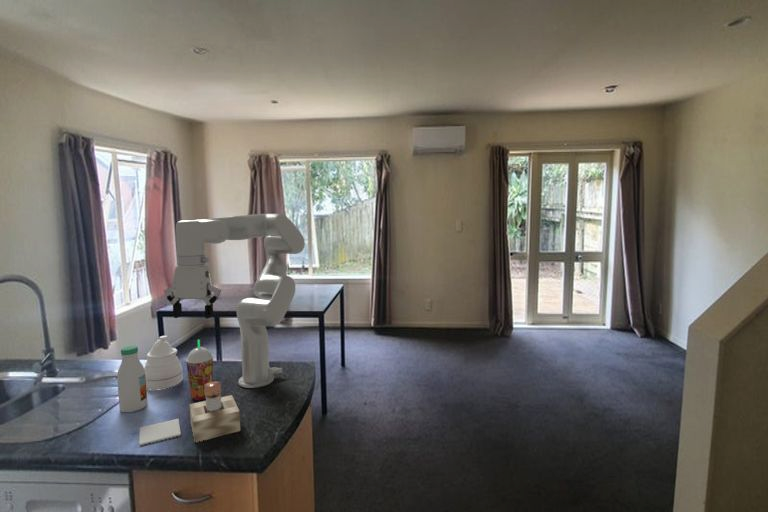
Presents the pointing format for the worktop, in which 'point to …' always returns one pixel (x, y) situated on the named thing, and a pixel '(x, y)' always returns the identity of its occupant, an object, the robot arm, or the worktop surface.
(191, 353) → the smoothie
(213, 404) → the copper capped bottle
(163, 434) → the white square plate
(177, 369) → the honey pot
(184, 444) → the worktop surface
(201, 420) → the birch eye block
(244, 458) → the worktop surface
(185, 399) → the worktop surface
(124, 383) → the milk bottle
